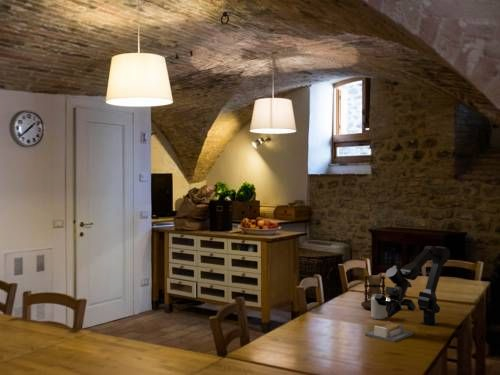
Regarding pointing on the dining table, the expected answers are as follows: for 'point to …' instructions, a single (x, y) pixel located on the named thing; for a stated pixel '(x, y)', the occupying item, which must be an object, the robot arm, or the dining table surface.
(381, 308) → the can
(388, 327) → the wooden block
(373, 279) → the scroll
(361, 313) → the dining table surface
